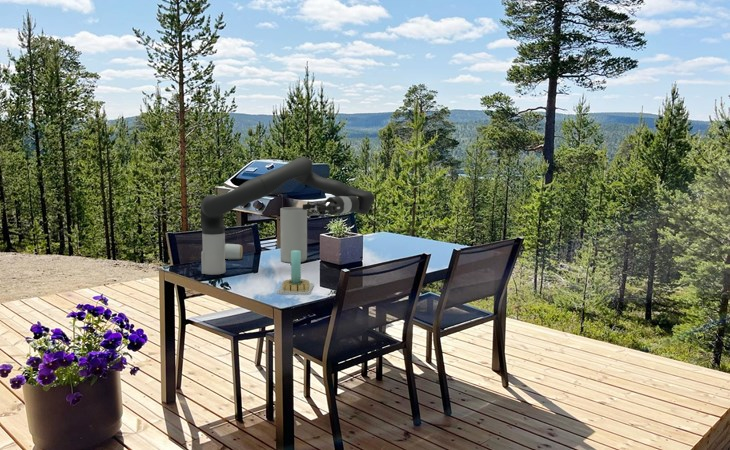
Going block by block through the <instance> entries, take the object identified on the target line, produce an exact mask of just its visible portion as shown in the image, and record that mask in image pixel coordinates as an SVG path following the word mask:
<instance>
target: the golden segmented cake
mask: <svg viewBox="0 0 730 450" xmlns="http://www.w3.org/2000/svg"><path fill="white" fill-rule="evenodd" d="M314 285H315V284H314V282H310V281H309V280H308V279H304V278H303V279H302V278H301V283H299V284H292V283H291V278H289V279H285V280H283V281H282V284H281V286H280V287H279V288H278V290H277V293H276V294H277V295H309V296H310V295H311V293H312V290H313V288H314Z"/></svg>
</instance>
